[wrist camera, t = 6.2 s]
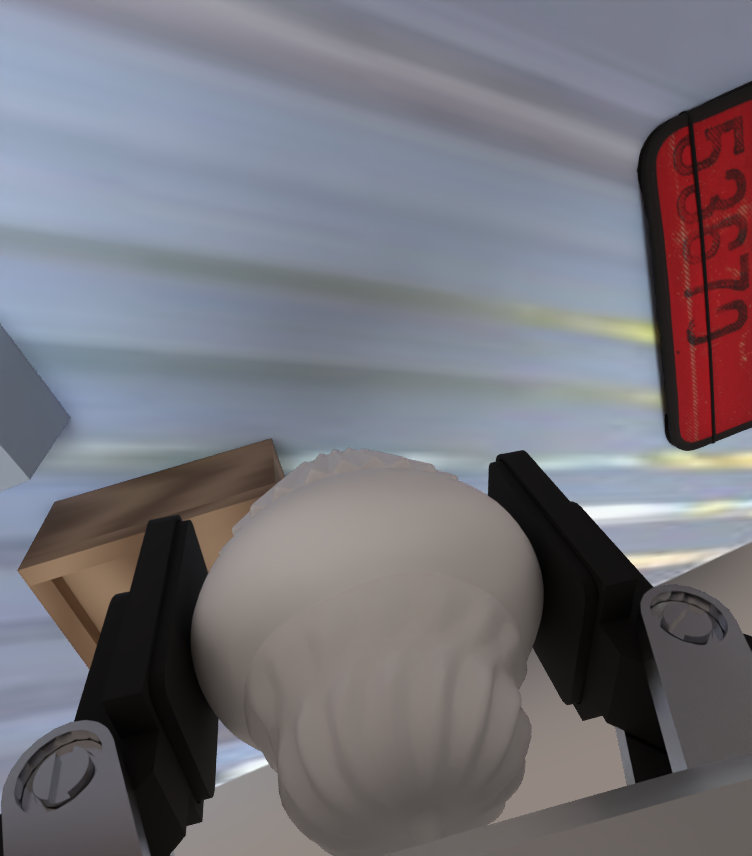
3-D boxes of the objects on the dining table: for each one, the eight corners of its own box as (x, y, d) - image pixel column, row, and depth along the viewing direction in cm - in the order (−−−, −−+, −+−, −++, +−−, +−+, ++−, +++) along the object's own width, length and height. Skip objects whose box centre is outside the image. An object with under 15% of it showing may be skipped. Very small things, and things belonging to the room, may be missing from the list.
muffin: (144, 472, 11) (15, 876, 5) (411, 333, 11) (619, 579, 5) (292, 642, 14) (324, 1017, 8) (502, 537, 14) (697, 842, 8)
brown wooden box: (270, 435, 30) (276, 491, 25) (324, 586, 36) (338, 656, 31) (56, 499, 29) (17, 570, 24) (147, 644, 35) (131, 726, 30)
